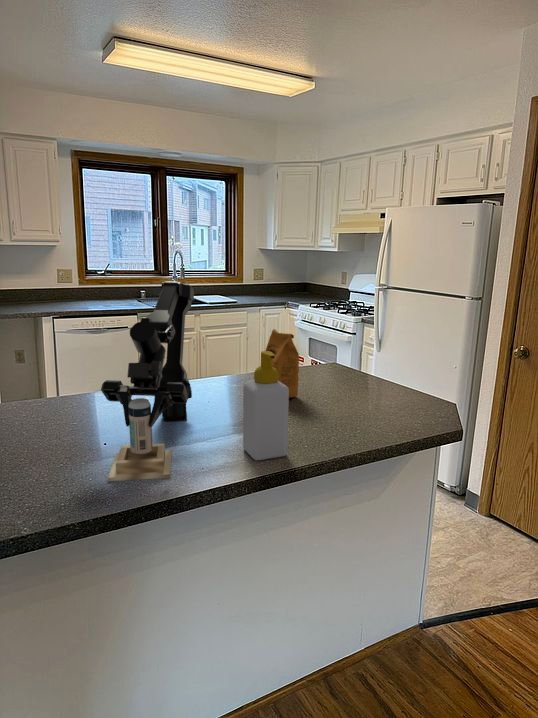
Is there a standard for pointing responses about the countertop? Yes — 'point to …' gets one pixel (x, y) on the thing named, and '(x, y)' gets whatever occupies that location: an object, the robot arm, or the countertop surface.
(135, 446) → the beer can
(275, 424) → the soap bottle
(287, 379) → the coffee package
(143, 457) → the socket board
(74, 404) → the countertop surface
